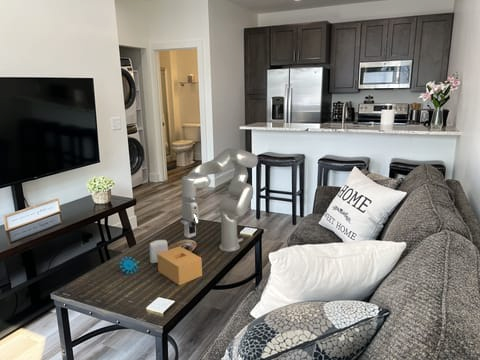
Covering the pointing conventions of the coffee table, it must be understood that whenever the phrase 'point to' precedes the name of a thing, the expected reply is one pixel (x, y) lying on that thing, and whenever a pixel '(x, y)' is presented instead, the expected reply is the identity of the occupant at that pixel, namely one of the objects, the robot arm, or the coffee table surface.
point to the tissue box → (179, 265)
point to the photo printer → (157, 249)
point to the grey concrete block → (188, 229)
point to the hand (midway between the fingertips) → (190, 231)
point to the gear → (128, 265)
